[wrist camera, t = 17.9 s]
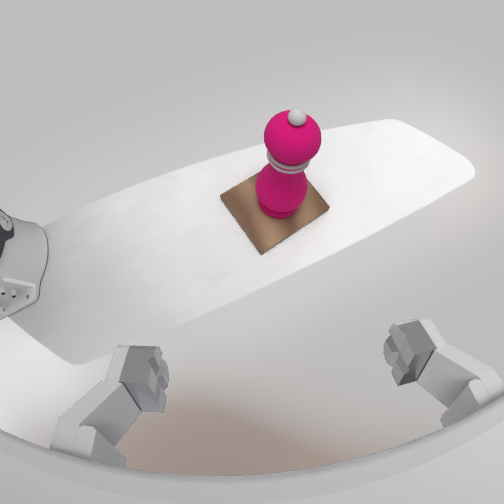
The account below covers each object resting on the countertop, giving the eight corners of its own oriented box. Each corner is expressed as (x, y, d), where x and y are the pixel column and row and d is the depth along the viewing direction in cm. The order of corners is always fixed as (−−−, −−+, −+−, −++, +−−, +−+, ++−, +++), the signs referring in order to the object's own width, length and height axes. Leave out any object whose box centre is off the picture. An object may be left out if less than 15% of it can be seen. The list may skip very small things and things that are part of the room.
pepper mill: (270, 172, 45) (283, 77, 26) (310, 195, 44) (347, 108, 25) (245, 206, 43) (244, 117, 24) (286, 231, 42) (315, 154, 23)
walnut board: (261, 254, 43) (261, 252, 41) (220, 198, 45) (220, 195, 44) (327, 210, 45) (330, 207, 43) (286, 160, 47) (287, 156, 46)
